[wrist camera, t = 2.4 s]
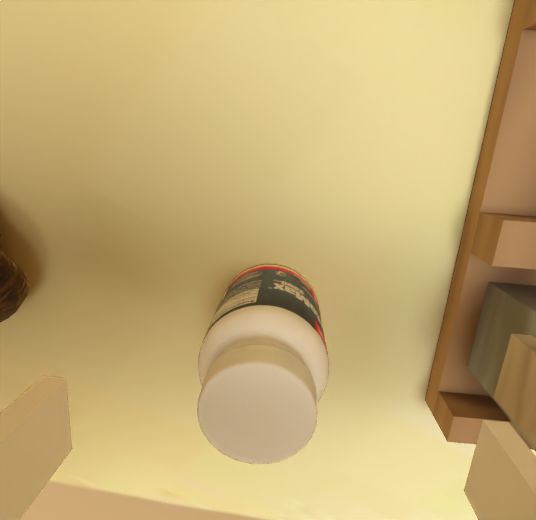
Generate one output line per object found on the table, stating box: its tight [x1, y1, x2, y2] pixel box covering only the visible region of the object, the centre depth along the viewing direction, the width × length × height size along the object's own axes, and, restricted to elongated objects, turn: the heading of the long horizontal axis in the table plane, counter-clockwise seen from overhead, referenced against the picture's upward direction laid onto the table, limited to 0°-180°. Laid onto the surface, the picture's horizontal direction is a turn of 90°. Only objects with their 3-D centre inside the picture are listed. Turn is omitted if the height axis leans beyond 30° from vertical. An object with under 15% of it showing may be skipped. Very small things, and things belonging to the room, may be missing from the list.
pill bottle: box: [197, 265, 329, 464], centre depth 17 cm, size 5×5×9 cm
